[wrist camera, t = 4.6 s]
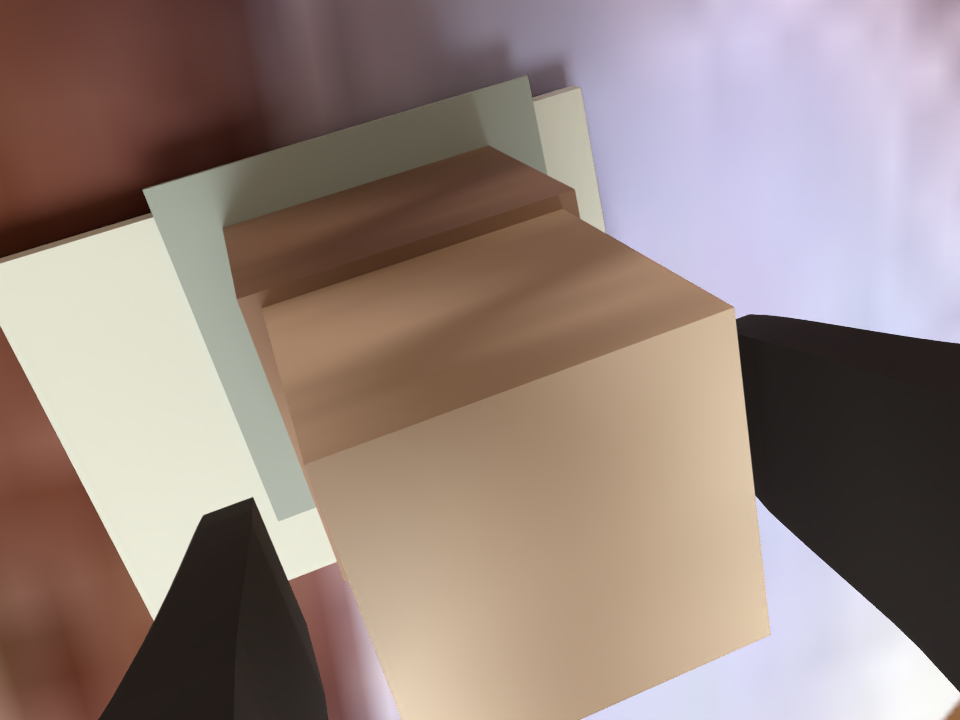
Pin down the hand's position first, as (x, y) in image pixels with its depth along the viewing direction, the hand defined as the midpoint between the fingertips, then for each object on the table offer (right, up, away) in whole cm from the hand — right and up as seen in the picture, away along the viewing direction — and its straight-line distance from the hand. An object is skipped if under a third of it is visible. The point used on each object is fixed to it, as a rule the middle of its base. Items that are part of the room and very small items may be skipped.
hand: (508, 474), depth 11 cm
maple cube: (-1, +1, +2) cm, 2 cm away
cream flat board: (-3, +1, +6) cm, 7 cm away
